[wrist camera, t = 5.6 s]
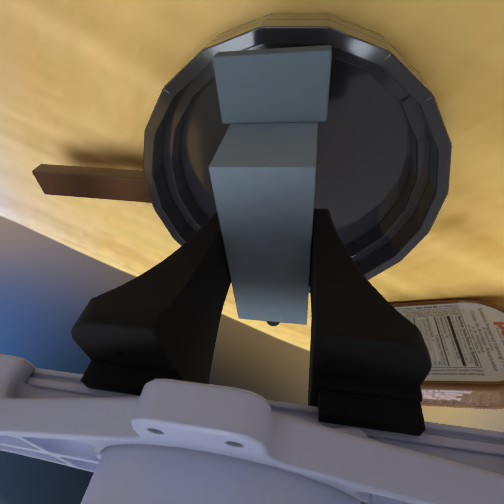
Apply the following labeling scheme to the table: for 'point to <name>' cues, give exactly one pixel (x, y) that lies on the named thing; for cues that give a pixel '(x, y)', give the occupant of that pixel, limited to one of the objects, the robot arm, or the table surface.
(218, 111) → the pan
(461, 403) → the tin
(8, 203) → the table surface
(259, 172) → the grey flat-sided piece
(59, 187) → the pan handle
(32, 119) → the table surface
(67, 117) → the table surface
